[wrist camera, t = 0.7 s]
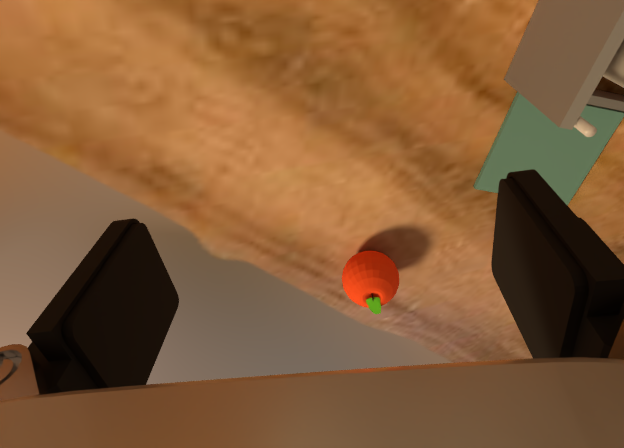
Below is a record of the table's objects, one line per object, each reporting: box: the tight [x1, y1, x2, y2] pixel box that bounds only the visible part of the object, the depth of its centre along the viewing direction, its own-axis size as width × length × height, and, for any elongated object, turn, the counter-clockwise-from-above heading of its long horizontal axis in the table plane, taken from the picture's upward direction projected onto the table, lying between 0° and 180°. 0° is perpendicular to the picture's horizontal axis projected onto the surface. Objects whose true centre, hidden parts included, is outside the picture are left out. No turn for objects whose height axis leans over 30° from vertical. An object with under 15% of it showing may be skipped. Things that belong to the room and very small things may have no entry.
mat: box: [474, 92, 624, 205], centre depth 45 cm, size 11×11×1 cm
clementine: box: [342, 251, 399, 314], centre depth 52 cm, size 8×7×7 cm
